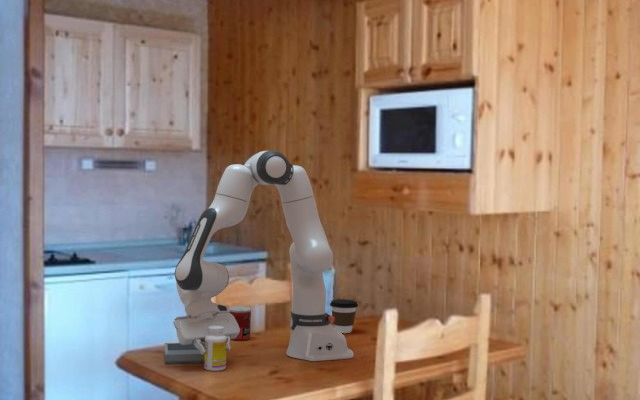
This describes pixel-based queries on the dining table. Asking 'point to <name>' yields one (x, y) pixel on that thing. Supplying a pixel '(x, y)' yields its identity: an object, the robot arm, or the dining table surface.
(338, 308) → the coffee cup
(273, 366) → the dining table surface
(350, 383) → the dining table surface
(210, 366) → the supplement bottle
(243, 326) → the canned food
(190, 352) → the tray
